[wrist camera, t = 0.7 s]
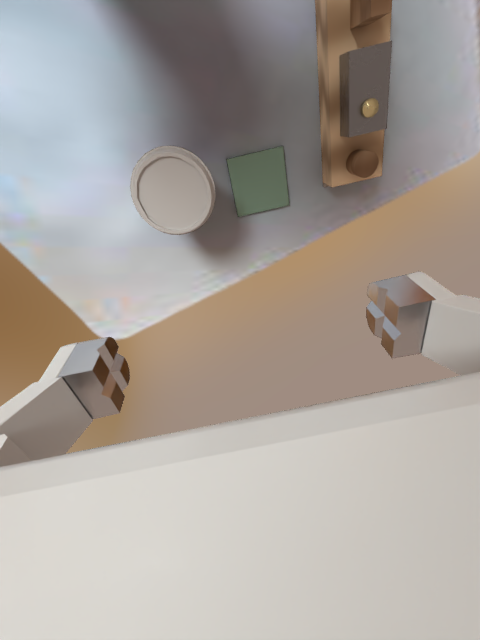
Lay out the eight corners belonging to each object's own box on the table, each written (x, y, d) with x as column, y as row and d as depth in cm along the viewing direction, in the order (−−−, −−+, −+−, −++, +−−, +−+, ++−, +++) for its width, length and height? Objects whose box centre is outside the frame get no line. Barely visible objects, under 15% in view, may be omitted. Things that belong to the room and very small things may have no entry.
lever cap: (339, 55, 35) (351, 49, 32) (378, 46, 35) (394, 39, 32) (340, 136, 39) (351, 137, 36) (374, 128, 39) (388, 128, 36)
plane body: (314, -4, 35) (344, -37, 27) (375, -20, 34) (422, -57, 27) (322, 186, 46) (345, 199, 39) (368, 176, 46) (400, 187, 38)
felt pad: (226, 159, 43) (226, 159, 42) (282, 146, 43) (283, 146, 42) (237, 215, 47) (238, 216, 47) (288, 204, 47) (289, 205, 47)
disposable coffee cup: (146, 133, 40) (126, 138, 30) (217, 146, 42) (221, 156, 32) (145, 207, 46) (129, 232, 36) (209, 216, 47) (210, 243, 37)
